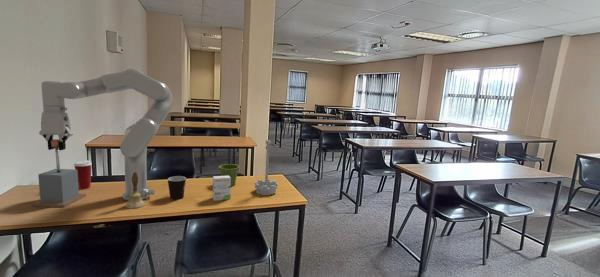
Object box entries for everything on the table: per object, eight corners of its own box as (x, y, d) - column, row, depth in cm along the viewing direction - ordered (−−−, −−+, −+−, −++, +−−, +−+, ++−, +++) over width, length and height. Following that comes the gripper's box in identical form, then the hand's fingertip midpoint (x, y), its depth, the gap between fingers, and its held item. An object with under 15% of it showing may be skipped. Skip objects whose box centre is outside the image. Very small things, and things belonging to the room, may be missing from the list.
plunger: (71, 177, 141) (69, 139, 138) (60, 181, 135) (58, 141, 132) (57, 176, 141) (54, 138, 138) (45, 181, 134) (42, 140, 131)
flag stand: (280, 194, 166) (283, 142, 161) (257, 196, 161) (259, 142, 156) (273, 187, 178) (276, 138, 173) (252, 188, 173) (254, 138, 168)
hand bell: (140, 200, 146) (139, 169, 143) (148, 205, 140) (147, 173, 138) (122, 205, 139) (120, 172, 137) (129, 210, 134) (128, 176, 131)
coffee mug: (179, 201, 148) (179, 182, 146) (164, 199, 149) (163, 179, 148) (192, 193, 159) (192, 175, 157) (177, 191, 161) (177, 173, 159)
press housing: (85, 196, 147) (84, 168, 144) (64, 207, 133) (62, 177, 131) (56, 194, 146) (54, 167, 144) (32, 205, 132) (29, 175, 130)
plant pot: (233, 180, 186) (233, 163, 184) (242, 185, 177) (243, 167, 175) (215, 183, 178) (215, 165, 176) (223, 189, 169) (224, 170, 168)
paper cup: (96, 186, 162) (95, 161, 159) (85, 190, 154) (83, 164, 152) (83, 184, 162) (81, 159, 160) (71, 189, 155) (69, 163, 153)
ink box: (228, 196, 159) (229, 175, 157) (230, 199, 154) (231, 177, 152) (212, 197, 155) (212, 175, 154) (213, 201, 151) (213, 178, 149)
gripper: (79, 110, 137) (81, 148, 140) (42, 107, 136) (44, 146, 139) (67, 111, 129) (69, 152, 132) (27, 108, 129) (31, 150, 132)
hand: (56, 149), depth 136 cm, fingers closed on plunger, 4 cm apart
